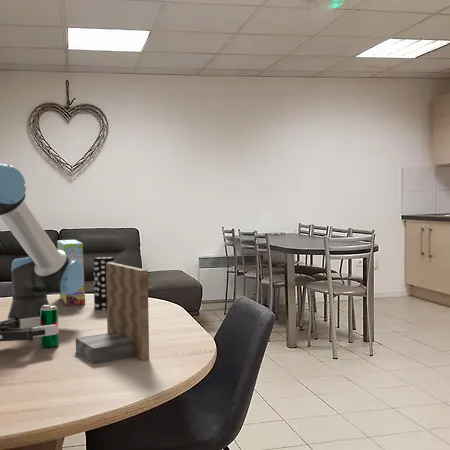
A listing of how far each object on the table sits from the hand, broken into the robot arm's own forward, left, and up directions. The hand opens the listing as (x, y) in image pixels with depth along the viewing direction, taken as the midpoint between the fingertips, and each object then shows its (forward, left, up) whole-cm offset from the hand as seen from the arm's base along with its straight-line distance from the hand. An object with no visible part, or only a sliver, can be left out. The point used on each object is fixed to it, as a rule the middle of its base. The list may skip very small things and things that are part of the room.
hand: (48, 325), depth 166 cm
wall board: (+11, +17, -6) cm, 22 cm away
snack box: (-76, -2, -7) cm, 76 cm away
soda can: (0, 0, -7) cm, 7 cm away
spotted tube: (-58, +13, -7) cm, 60 cm away
